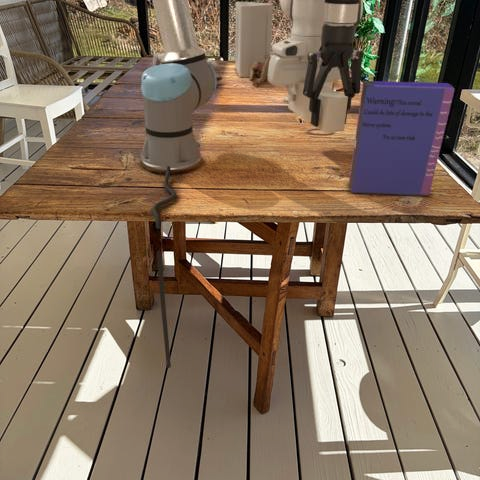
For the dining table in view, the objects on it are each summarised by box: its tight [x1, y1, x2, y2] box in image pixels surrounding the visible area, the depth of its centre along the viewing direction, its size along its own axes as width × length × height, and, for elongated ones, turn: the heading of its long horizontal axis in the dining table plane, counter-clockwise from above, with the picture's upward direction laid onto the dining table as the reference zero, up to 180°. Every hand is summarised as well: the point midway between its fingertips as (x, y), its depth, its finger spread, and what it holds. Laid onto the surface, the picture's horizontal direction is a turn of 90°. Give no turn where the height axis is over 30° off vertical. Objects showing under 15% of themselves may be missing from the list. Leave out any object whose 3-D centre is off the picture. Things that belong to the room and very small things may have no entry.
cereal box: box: [348, 80, 455, 197], centre depth 104 cm, size 17×5×24 cm, turn 86°
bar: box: [287, 81, 348, 134], centre depth 124 cm, size 22×5×8 cm, turn 19°
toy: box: [152, 51, 219, 68], centre depth 222 cm, size 24×25×7 cm
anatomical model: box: [249, 55, 272, 87], centre depth 197 cm, size 13×9×15 cm
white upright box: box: [234, 1, 274, 78], centre depth 210 cm, size 19×15×28 cm
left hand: (328, 123), depth 119 cm, fingers open, 7 cm apart
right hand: (302, 99), depth 131 cm, fingers closed on bar, 5 cm apart
